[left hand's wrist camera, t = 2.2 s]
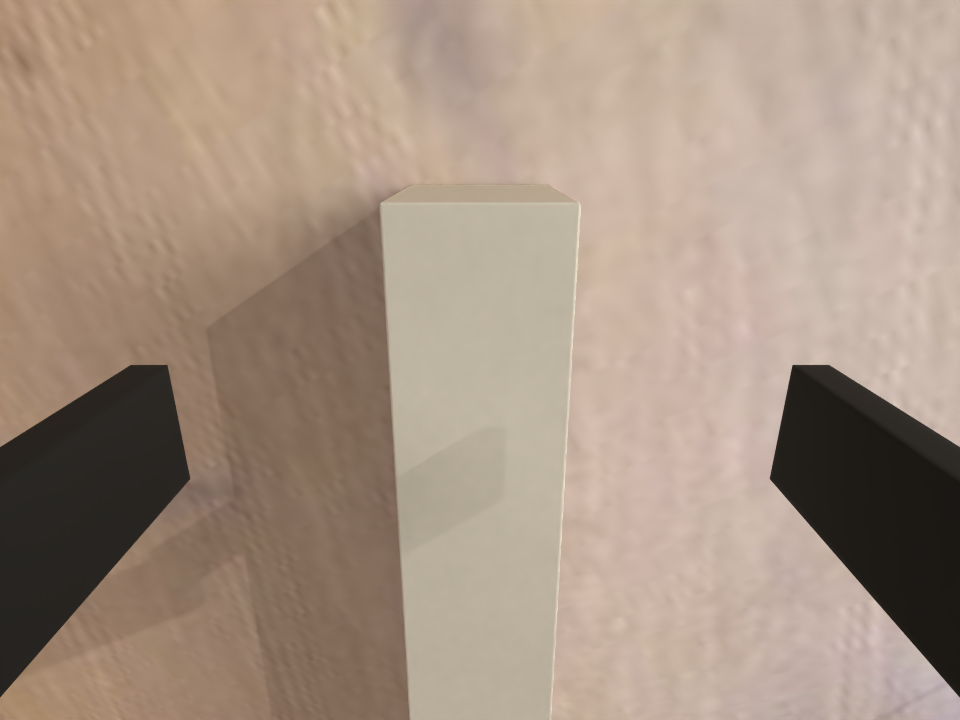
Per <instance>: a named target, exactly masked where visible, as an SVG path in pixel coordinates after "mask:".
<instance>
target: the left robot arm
mask: <svg viewBox="0 0 960 720" xmlns="http://www.w3.org/2000/svg"><path fill="white" fill-rule="evenodd" d="M189 480H190V475H189V470H188V465H187V460H186V455H185V450H184V445H183V440H182V435H181V430H180V425H179V420H178V415H177V410H176V405H175V400H174V395H173V390H172V385H171V380H170V375H169V370H168V365H130V366H129V367H127V368H125V369H124V370H122V371H121V372H119V373H118V374H116V375H114V376H113V377H111V378H110V379H108V380H106V381H105V382H103V383H102V384H100V385H98V386H97V387H95V388H94V389H92V390H90V391H89V392H87V393H86V394H84V395H83V396H81V397H79V398H78V399H76V400H75V401H73V402H71V403H70V404H68V405H67V406H65V407H63V408H62V409H60V410H59V411H57V412H55V413H54V414H52V415H51V416H49V417H48V418H46V419H44V420H43V421H41V422H40V423H38V424H36V425H35V426H33V427H32V428H30V429H28V430H27V431H25V432H24V433H22V434H20V435H19V436H17V437H16V438H14V439H12V440H11V441H9V442H8V443H6V444H5V445H3V446H1V447H0V697H1V696H2V695H3V694H4V692H5V691H6V690H7V689H8V688H9V687H10V685H11V684H12V683H13V682H14V681H15V680H16V679H17V677H18V676H19V675H20V674H21V673H22V672H23V671H24V669H25V668H26V667H27V666H28V665H29V664H30V662H31V661H32V660H33V659H34V658H35V657H36V656H37V654H38V653H39V652H40V651H41V650H42V649H43V648H44V646H45V645H46V644H47V643H48V642H49V641H50V639H51V638H52V637H53V636H54V635H55V634H56V633H57V631H58V630H59V629H60V628H61V627H62V626H63V625H64V623H65V622H66V621H67V620H68V619H69V618H70V616H71V615H72V614H73V613H74V612H75V611H76V610H77V608H78V607H79V606H80V605H81V604H82V603H83V602H84V600H85V599H86V598H87V597H88V596H89V595H90V594H91V592H92V591H93V590H94V589H95V588H96V587H97V585H98V584H99V583H100V582H101V581H102V580H103V579H104V577H105V576H106V575H107V574H108V573H109V572H110V571H111V569H112V568H113V567H114V566H115V565H116V564H117V562H118V561H119V560H120V559H121V558H122V557H123V556H124V554H125V553H126V552H127V551H128V550H129V549H130V548H131V546H132V545H133V544H134V543H135V542H136V541H137V539H138V538H139V537H140V536H141V535H142V534H143V533H144V531H145V530H146V529H147V528H148V527H149V526H150V525H151V523H152V522H153V521H154V520H155V519H156V518H157V516H158V515H159V514H160V513H161V512H162V511H163V510H164V508H165V507H166V506H167V505H168V504H169V503H170V502H171V500H172V499H173V498H174V497H175V496H176V495H177V493H178V492H179V491H180V490H181V489H182V488H183V487H184V485H185V484H186V483H187V482H188V481H189ZM770 480H771V481H772V482H773V483H774V484H775V485H776V487H777V488H778V489H779V490H780V491H781V492H782V493H783V495H784V496H785V497H786V498H787V499H788V500H789V502H790V503H791V504H792V505H793V506H794V507H795V508H796V510H797V511H798V512H799V513H800V514H801V515H802V516H803V518H804V519H805V520H806V521H807V522H808V523H809V525H810V526H811V527H812V528H813V529H814V530H815V531H816V533H817V534H818V535H819V536H820V537H821V538H822V539H823V541H824V542H825V543H826V544H827V545H828V546H829V548H830V549H831V550H832V551H833V552H834V553H835V554H836V556H837V557H838V558H839V559H840V560H841V561H842V562H843V564H844V565H845V566H846V567H847V568H848V569H849V571H850V572H851V573H852V574H853V575H854V576H855V577H856V579H857V580H858V581H859V582H860V583H861V584H862V585H863V587H864V588H865V589H866V590H867V591H868V592H869V594H870V595H871V596H872V597H873V598H874V599H875V600H876V602H877V603H878V604H879V605H880V606H881V607H882V608H883V610H884V611H885V612H886V613H887V614H888V615H889V616H890V618H891V619H892V620H893V621H894V622H895V623H896V625H897V626H898V627H899V628H900V629H901V630H902V631H903V633H904V634H905V635H906V636H907V637H908V638H909V639H910V641H911V642H912V643H913V644H914V645H915V646H916V648H917V649H918V650H919V651H920V652H921V653H922V654H923V656H924V657H925V658H926V659H927V660H928V661H929V662H930V664H931V665H932V666H933V667H934V668H935V669H936V671H937V672H938V673H939V674H940V675H941V676H942V677H943V679H944V680H945V681H946V682H947V683H948V684H949V685H950V687H951V688H952V689H953V690H954V691H955V692H956V694H957V695H958V696H959V697H960V447H959V446H957V445H955V444H954V443H952V442H951V441H949V440H948V439H946V438H944V437H943V436H941V435H940V434H938V433H936V432H935V431H933V430H932V429H930V428H928V427H927V426H925V425H924V424H922V423H920V422H919V421H917V420H916V419H914V418H912V417H911V416H909V415H908V414H906V413H905V412H903V411H901V410H900V409H898V408H897V407H895V406H893V405H892V404H890V403H889V402H887V401H885V400H884V399H882V398H881V397H879V396H877V395H876V394H874V393H873V392H871V391H870V390H868V389H866V388H865V387H863V386H862V385H860V384H858V383H857V382H855V381H854V380H852V379H850V378H849V377H847V376H846V375H844V374H842V373H841V372H839V371H838V370H836V369H835V368H833V367H831V366H830V365H792V370H791V375H790V380H789V385H788V390H787V395H786V400H785V405H784V410H783V415H782V420H781V425H780V430H779V435H778V440H777V445H776V450H775V455H774V460H773V465H772V470H771V475H770Z"/></svg>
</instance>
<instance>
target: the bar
mask: <svg viewBox="0 0 960 720" xmlns="http://www.w3.org/2000/svg"><path fill="white" fill-rule="evenodd" d="M379 213H380V230H381V247H382V264H383V281H384V298H385V316H386V333H387V350H388V367H389V384H390V401H391V418H392V435H393V452H394V469H395V486H396V503H397V520H398V538H399V555H400V572H401V589H402V606H403V623H404V640H405V657H406V674H407V691H408V708H409V720H551V708H552V691H553V674H554V657H555V640H556V622H557V605H558V588H559V571H560V554H561V537H562V520H563V503H564V486H565V469H566V452H567V435H568V417H569V400H570V383H571V366H572V349H573V332H574V315H575V298H576V281H577V264H578V247H579V230H580V213H581V204H580V203H579V202H578V201H576V200H574V199H572V198H571V197H569V196H567V195H565V194H564V193H562V192H560V191H558V190H557V189H555V188H553V187H551V186H550V185H410V186H409V187H407V188H405V189H403V190H402V191H400V192H398V193H396V194H395V195H393V196H391V197H389V198H388V199H386V200H384V201H382V202H381V203H380V204H379Z"/></svg>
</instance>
